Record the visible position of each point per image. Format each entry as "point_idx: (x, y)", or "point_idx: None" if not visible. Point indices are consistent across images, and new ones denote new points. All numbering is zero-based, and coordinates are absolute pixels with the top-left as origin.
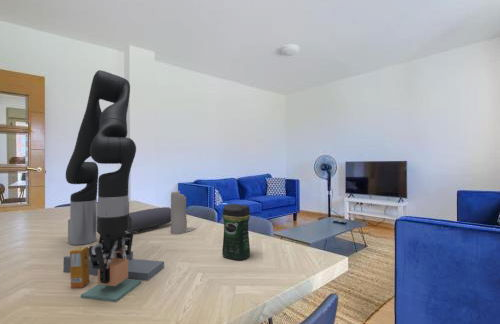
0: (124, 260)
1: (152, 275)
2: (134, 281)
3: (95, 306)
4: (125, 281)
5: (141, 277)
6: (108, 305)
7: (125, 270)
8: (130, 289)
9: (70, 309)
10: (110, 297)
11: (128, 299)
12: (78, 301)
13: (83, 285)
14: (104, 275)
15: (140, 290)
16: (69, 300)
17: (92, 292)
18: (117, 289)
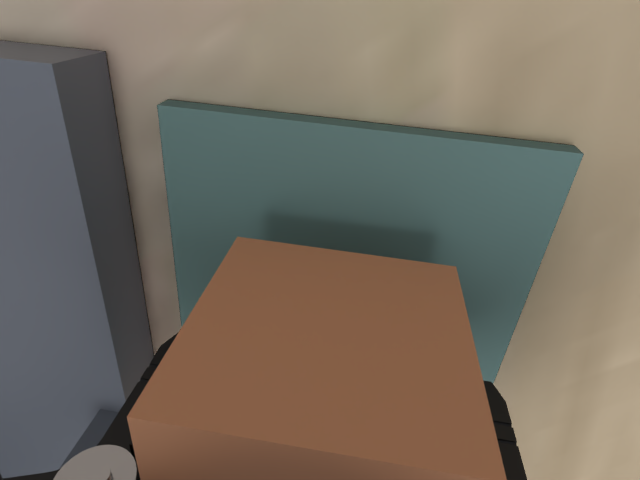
0: (217, 445)
1: (2, 44)
2: (197, 168)
3: (628, 278)
4: (220, 249)
5: (103, 138)
6: (634, 184)
7: (258, 306)
8: (353, 124)
9: (637, 404)
10: (533, 229)
11: (534, 43)
12: (524, 409)
13: None
14: (520, 457)
15: (327, 12)
16: None
17: None
18: (376, 243)
